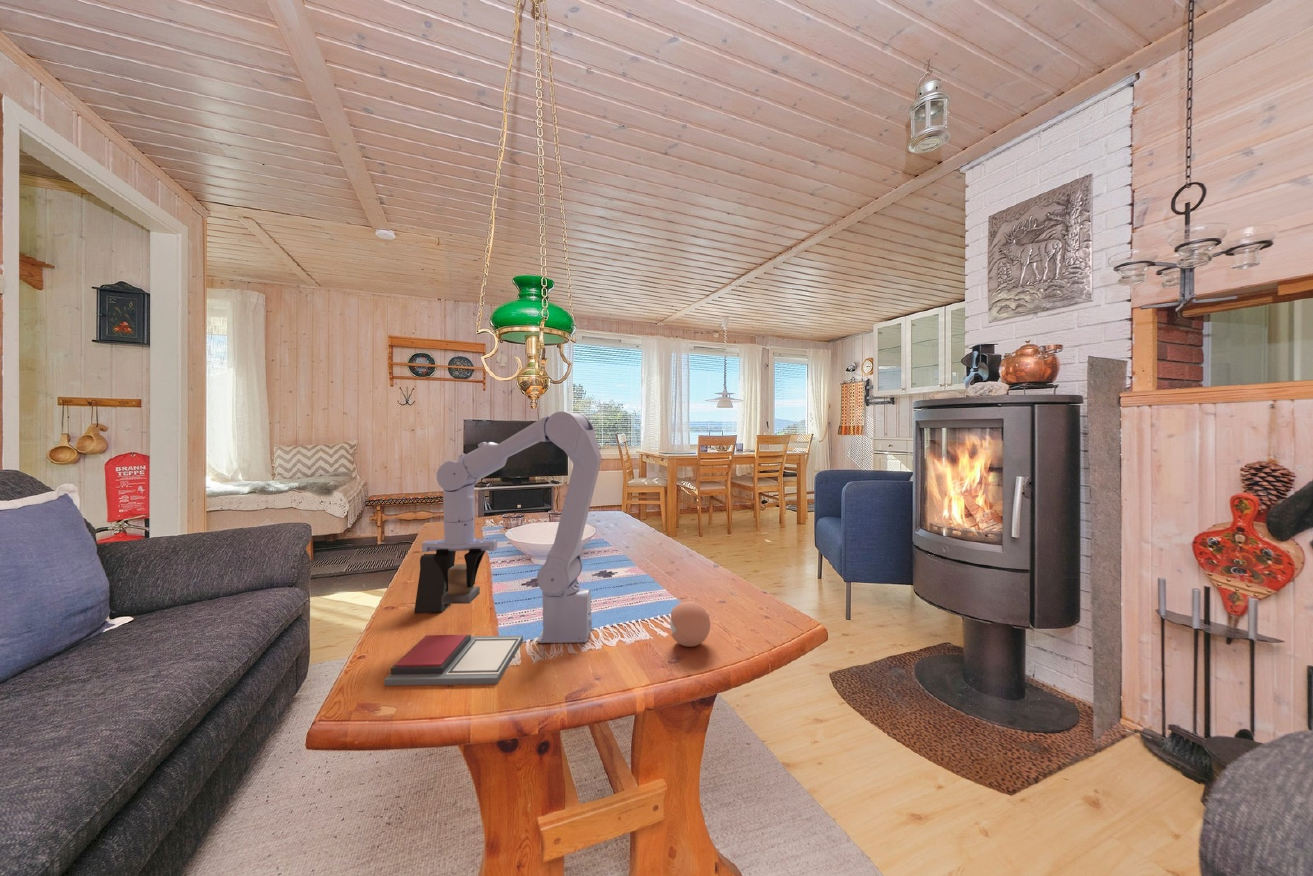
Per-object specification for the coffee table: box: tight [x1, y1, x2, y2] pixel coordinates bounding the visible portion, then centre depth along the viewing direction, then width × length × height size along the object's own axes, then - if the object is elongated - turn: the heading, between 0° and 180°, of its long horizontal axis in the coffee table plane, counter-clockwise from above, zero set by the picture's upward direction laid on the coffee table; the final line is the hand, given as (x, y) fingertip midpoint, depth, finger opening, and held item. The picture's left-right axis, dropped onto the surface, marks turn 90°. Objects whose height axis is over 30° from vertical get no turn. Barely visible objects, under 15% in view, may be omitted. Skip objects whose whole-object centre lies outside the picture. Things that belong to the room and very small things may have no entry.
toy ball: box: [669, 600, 711, 648], centre depth 87 cm, size 8×8×8 cm
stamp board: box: [383, 634, 524, 687], centre depth 82 cm, size 18×15×2 cm
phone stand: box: [413, 553, 451, 614], centre depth 108 cm, size 9×6×12 cm, turn 0°
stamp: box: [441, 563, 481, 605], centre depth 95 cm, size 6×6×6 cm
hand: (460, 586), depth 95 cm, fingers closed on stamp, 4 cm apart
